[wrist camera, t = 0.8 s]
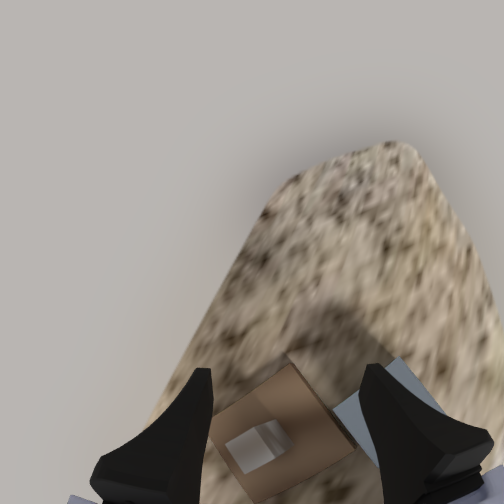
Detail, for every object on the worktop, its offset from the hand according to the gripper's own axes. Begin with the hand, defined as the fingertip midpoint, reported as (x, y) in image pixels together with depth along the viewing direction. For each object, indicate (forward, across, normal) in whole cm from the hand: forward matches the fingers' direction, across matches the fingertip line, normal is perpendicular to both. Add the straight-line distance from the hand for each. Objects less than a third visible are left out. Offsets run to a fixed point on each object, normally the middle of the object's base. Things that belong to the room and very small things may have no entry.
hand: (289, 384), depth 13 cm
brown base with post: (+7, -1, +14) cm, 16 cm away
